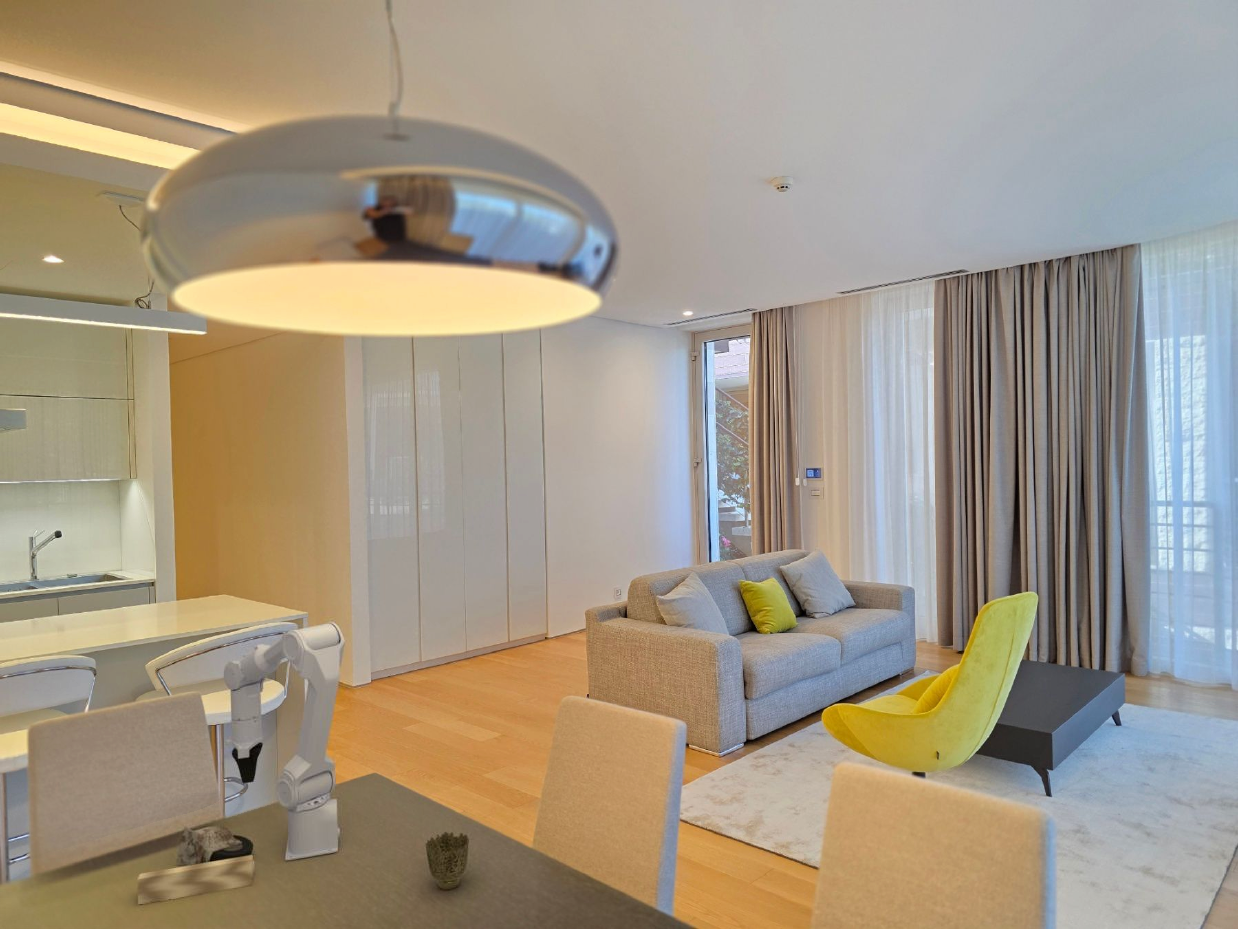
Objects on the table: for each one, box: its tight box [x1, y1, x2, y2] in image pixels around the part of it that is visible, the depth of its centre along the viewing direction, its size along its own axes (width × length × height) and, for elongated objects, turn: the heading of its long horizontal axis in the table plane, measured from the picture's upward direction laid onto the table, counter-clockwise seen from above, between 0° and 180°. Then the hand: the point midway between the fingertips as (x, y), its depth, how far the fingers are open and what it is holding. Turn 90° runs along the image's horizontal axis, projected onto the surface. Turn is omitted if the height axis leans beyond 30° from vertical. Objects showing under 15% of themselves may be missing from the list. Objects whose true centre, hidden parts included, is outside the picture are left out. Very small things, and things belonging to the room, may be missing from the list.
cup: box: [425, 831, 470, 891], centre depth 144 cm, size 8×7×8 cm
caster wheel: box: [176, 825, 254, 867], centre depth 156 cm, size 7×11×10 cm
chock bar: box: [137, 854, 256, 906], centre depth 146 cm, size 18×5×4 cm, turn 109°
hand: (248, 781), depth 171 cm, fingers closed
